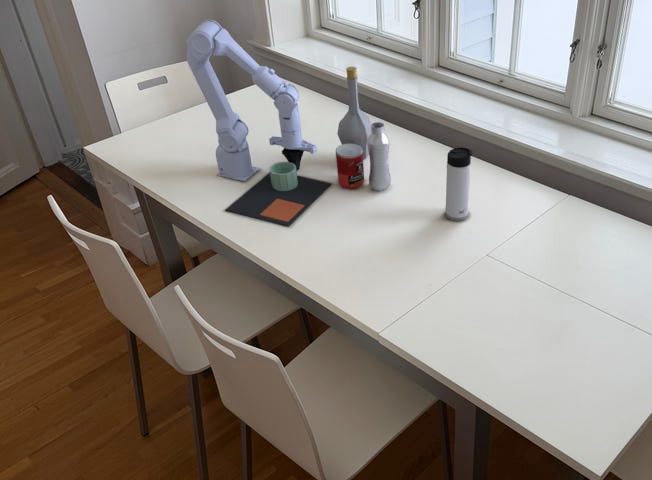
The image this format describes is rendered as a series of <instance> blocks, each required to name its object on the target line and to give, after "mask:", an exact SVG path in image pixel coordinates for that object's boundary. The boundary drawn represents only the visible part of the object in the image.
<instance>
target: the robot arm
mask: <svg viewBox="0 0 652 480" xmlns="http://www.w3.org/2000/svg"><path fill="white" fill-rule="evenodd" d="M185 43H186V46H187V47H186V63H187V65H188V67H189V69H190V71H191V73H192V75H193V77H194V79H195V81H196V83H197V85H198V87H199V90H201V93H202V95H203V97H204V99H205V101H206V103H207V105H208V107H209V109H210V111H211V114H212V116H213V118H214V119H215V132H216V134H217V138H218V140H217V141H218V145H217V147H216V149H215V160H216V163H217V168H218V173H217V176H219V177H223V178H227V179H231V180H236V181H240V182H246V181H247V180H248V179H250V178H251V177H252V176H253V175H254V174H256V173H257V172H258V171H259V170H260V168H259V167H256V166H253V164H252V158H251V152H250V147H249V142H248V140H247V137H248V135H249V132H250V131H249V130H250V129H249V126H248V125H247V124H246V122H245V121H243V120H242V118H241V117H240V114H239V113H237V112H234V110H233V108H232V106H231V104H230V102H229V100H228V98H227V95H226V93H225V91H224V89H223V87H222V85H221V82H220V81H219V79H218V77H217V75H216V72H215V70H214V68H213V65H212V64H211V61H210V58H211V55H212V53H213V56H214V57H228V59H230V60H232V61H233V62H234V63H235V64H237V65H238V66H239V67H240V68H242V69H243V70H244V71H245V72H247V73H248V74H249V75H251V78H252V83H253V84H254V85H255V86H256V87H258V88H259V89H260V90H262V92H263V93H264V94H266V95H267V96H268V97H269V98H270V99H271V100H273V105H274V107H275V108H276V110H278V112H277V113H278V120H279V128H280V134H281V135H280V136H271V137H270V138H269V139H268V141H269V145H270V146H279V147H282V148H283V149H282V150H281V154H282V155H283V157H285V159H286V160H287V162H290V163H293V164H294V165H296V170H297V172H299V170H300V169H301V162H302V158H303V154H304V152H307V153H310V154H311V155H314V154H316V153H317V152H318V149H317V145H316V144H312V143H310V142H308V141H307V140H304V139H303V134H302V126H301V118H300V111H299V105H298V101H299V98H300V92H299V90H298V88H297V87H296V86H295V85H294V84H291V83H288V82H287V81H286V82H285V81H284V80H283V79H282V78H280V76H278V75H277V74H276V71H275V70H274V69H273V68H269V67H268V66H265V65H260V64H259V63H258V62H257V61H256V60H255V59H254V58H252V57H251V55H249V53H248V52H247V51H246V50H244V48H242V47H241V45H240V44H239V43H238V42H236V40H234V38H233V37H232V36H231V34H230V33H229V31H228V30H227V29H226V28H224V27H222V26H221V25H220V23H219V22H217V21H216V20H214V19H204V20H203V21H201V23H200V24H199V26H197V27H196V28H195V29H194V30H193V31H192V32H191V33H190V35H189V36H188V38H187V39H186V41H185Z"/></svg>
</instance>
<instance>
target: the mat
mask: <svg viewBox="0 0 652 480" xmlns="http://www.w3.org/2000/svg"><path fill="white" fill-rule="evenodd" d="M297 178H298V185H297V187H296V188H294V189H292V190H289V191H278V190H275V189H274V188H273V187H272V183H271V176H270V172H269V173H267V174H266V175H265V176H263V177H262V178H261V179H260V180H259V181H257V182H256V183H255V184H254V185H252V187H251V188H249V189H248V190H247V191H245V193H243V194H242V195H241V196H240V197H239V198H237V199H236V200H235V201H234V202H233V203H231V204H230V205H229V206H227V208H225V212H228V213H233V214H237V215H241V216H244V217H249V218H253V219H257V220H261V221H264V222H268V223H272V224H277V225H281V226H283V227H288V228H289V227H290V226H291V225H292V224H293V223H294V222H295V221H296V220H297V219H298V218H299V217H300V216H301V215H302V214H303V213H304V212H305V211H306V210H307V209H308V208H310V206H311V205H312V204H313V203H314V202H316V200H317V199H318V198H320V196H321V195H322V194H323V193H325V191H327V189H328V188H330V186H331V185H332V182H328V181H323V180H319V179H315V178H310V177H307V176H301V175H297Z"/></svg>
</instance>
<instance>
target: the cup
mask: <svg viewBox="0 0 652 480" xmlns="http://www.w3.org/2000/svg"><path fill="white" fill-rule="evenodd" d="M269 173H270V176H271V183H272V187H273V188H274V189H275V190H278V191H289V190H292V189H294V188H296V187H297V185H298V178H297V176H298V171H297V170H296V165H294V164H293V163H290V162H288V161H279V162H276V163H273V164H271V166H269Z"/></svg>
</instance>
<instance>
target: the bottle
mask: <svg viewBox="0 0 652 480" xmlns="http://www.w3.org/2000/svg"><path fill="white" fill-rule="evenodd" d="M345 70H346V82H347V83H346V84H347V90H348V91H347V92H348V111H347V112H346V113H345V115H344V116H343V117H342V118H341V120H340V121H339V122H338V127H337V133H336V135H337V137H338V139H339V142H340V145H343V144H356V145H359V146H360V147H361V148H362V151H363V161H365V160H366V159H367V158H368V157H369V151H368V146H367V141H368V138H369V136H370V135H371V134H372V132H371V124H372V122H371V120H370V117H369V116H368V115H367V114H366V113H365V112H364V111H363V110H362V109H360V105H359V95H358V94H359V93H358V73H357V71H358V70H357V67H355V66H347V67H346V69H345Z"/></svg>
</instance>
